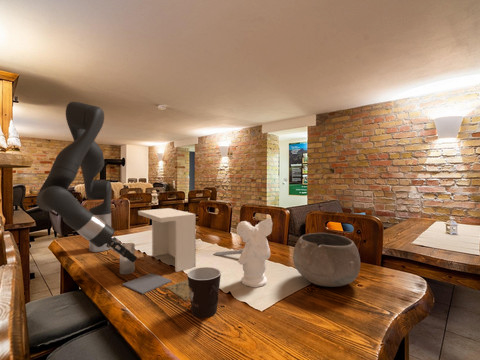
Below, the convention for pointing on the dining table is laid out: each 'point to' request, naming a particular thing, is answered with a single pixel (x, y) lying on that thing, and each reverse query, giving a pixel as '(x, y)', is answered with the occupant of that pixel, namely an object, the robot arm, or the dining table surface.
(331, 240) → the clay pot
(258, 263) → the cherub figurine
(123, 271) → the pale cylinder
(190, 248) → the white c-shaped side table
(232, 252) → the caliper
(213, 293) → the coffee mug
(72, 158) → the robot arm
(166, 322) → the dining table surface
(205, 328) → the dining table surface
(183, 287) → the cookie
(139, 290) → the rubber mat
